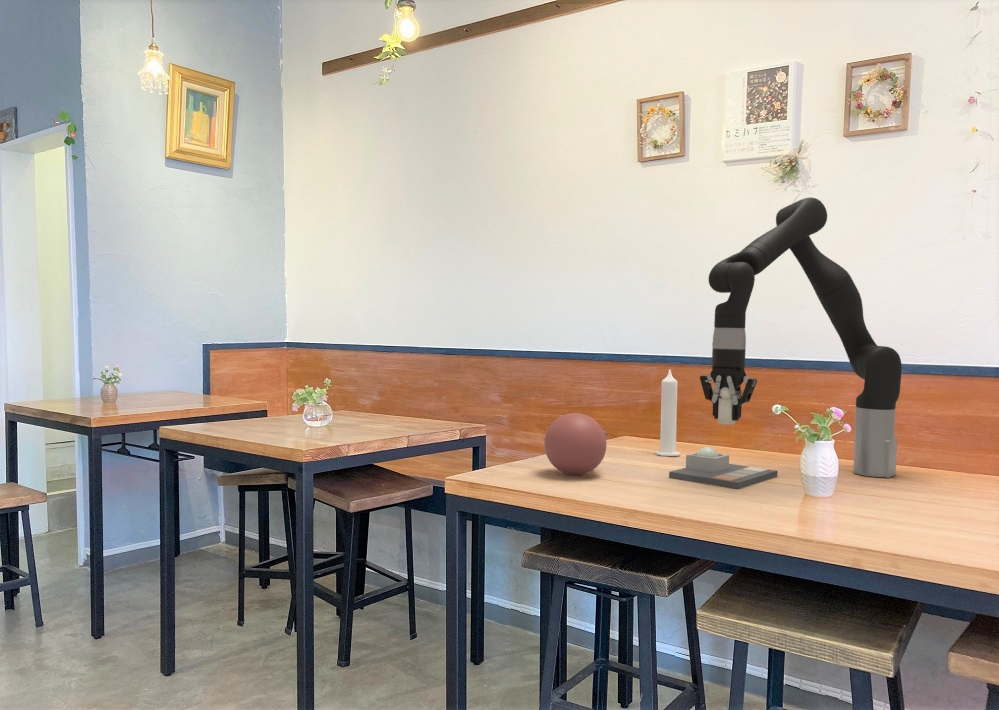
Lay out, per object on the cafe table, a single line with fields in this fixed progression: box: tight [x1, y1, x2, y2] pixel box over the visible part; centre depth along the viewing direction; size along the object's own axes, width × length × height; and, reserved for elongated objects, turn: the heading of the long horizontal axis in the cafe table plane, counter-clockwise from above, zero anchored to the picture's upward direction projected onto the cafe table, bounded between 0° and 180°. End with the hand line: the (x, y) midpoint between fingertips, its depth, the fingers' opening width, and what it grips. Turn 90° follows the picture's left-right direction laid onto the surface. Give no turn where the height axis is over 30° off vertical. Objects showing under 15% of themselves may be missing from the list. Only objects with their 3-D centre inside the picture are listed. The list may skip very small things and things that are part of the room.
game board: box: [668, 451, 778, 490], centre depth 189 cm, size 18×22×5 cm
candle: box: [655, 369, 681, 457], centre depth 221 cm, size 7×7×25 cm
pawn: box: [717, 387, 736, 426], centre depth 180 cm, size 4×4×9 cm
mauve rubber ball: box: [543, 412, 609, 476], centre depth 190 cm, size 15×20×15 cm
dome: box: [697, 446, 719, 458], centre depth 192 cm, size 5×5×5 cm
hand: (726, 419), depth 180 cm, fingers closed on pawn, 4 cm apart
